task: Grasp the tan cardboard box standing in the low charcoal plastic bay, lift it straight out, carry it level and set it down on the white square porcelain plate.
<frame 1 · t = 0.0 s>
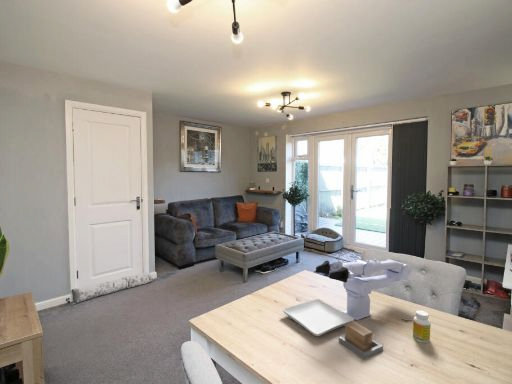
hand: (323, 272, 108), 22 cm above the table, tool horizontal, fingers open, 7 cm apart
tan cardboard box: (358, 336, 98), in the bay
salad plate: (317, 322, 113), on the table
bay: (358, 344, 98), on the table
supplement bottle: (421, 339, 101), on the table
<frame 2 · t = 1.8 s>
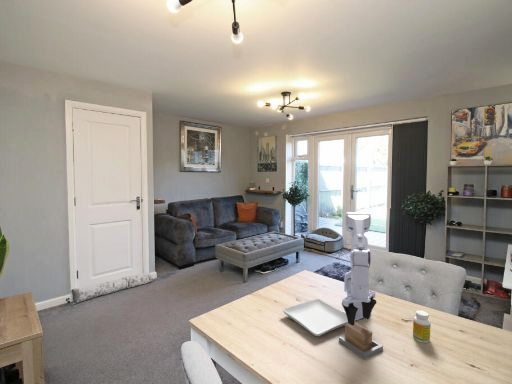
hand: (358, 321, 97), 8 cm above the table, tool pointing down, fingers open, 7 cm apart
nothing on the table moved.
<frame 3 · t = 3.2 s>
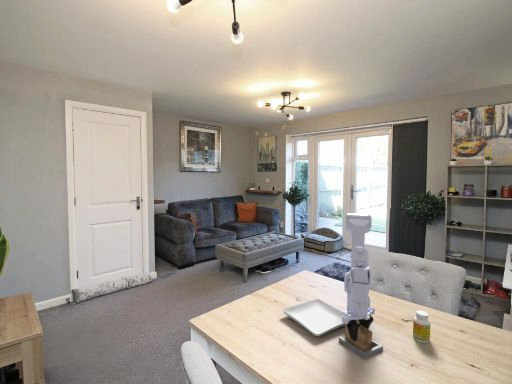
hand: (358, 337, 98), 2 cm above the table, tool pointing down, fingers closed on tan cardboard box, 4 cm apart
tan cardboard box: (358, 335, 98), in the bay, touching gripper
everything else where it was.
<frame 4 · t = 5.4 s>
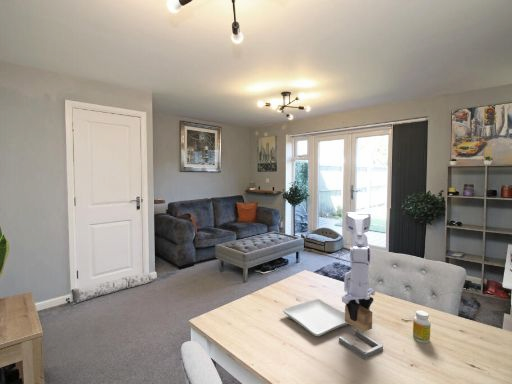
hand: (358, 318, 97), 9 cm above the table, tool pointing down, fingers closed on tan cardboard box, 4 cm apart
tan cardboard box: (358, 316, 97), point 10 cm above the table, touching gripper
everything else where it was.
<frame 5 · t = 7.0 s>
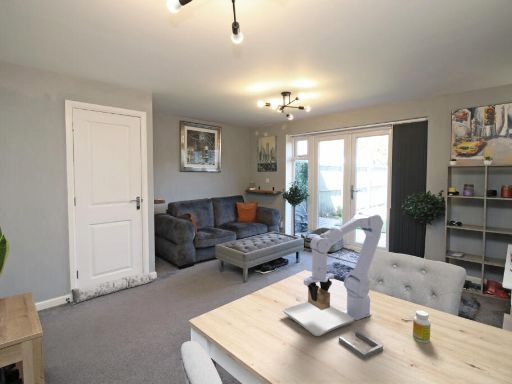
hand: (318, 298, 112), 9 cm above the table, tool pointing down, fingers closed on tan cardboard box, 4 cm apart
tan cardboard box: (318, 297, 112), point 10 cm above the table, touching gripper
everything else where it was.
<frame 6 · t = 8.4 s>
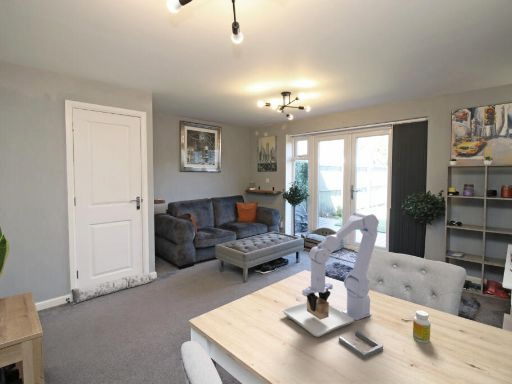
hand: (317, 309, 113), 5 cm above the table, tool pointing down, fingers closed on tan cardboard box, 4 cm apart
tan cardboard box: (317, 306, 113), point 6 cm above the table, touching gripper, salad plate
salad plate: (317, 322, 113), on the table, touching tan cardboard box
everything else where it was.
when the fingers open (5 cm above the table, at t = 8.7 s): tan cardboard box stays where it is, resting on salad plate.
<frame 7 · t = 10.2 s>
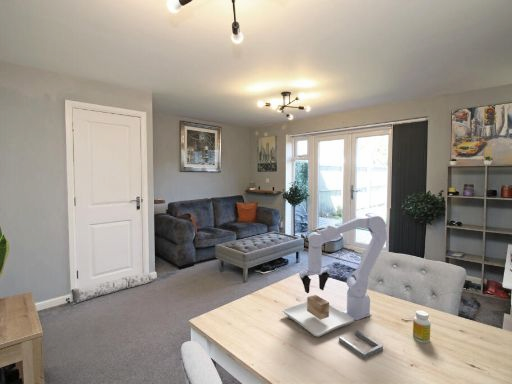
hand: (314, 290, 120), 9 cm above the table, tool pointing down, fingers open, 7 cm apart
tan cardboard box: (317, 306, 113), point 6 cm above the table, touching salad plate
everything else where it was.
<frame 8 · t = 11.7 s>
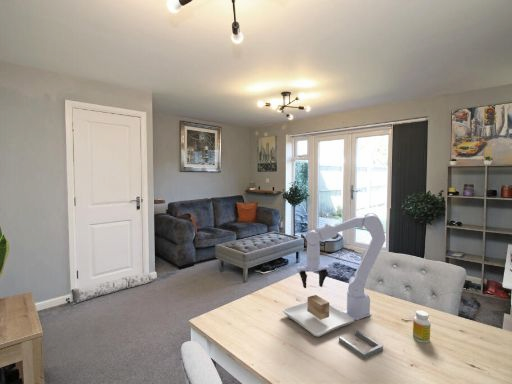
hand: (312, 286, 124), 9 cm above the table, tool pointing down, fingers open, 7 cm apart
nothing on the table moved.
at the end: tan cardboard box inside the target area in the salad plate (0.1 cm from its centre), point 6.6 cm above the salad plate's base; tan cardboard box tilted 0°; the gripper is holding nothing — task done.
